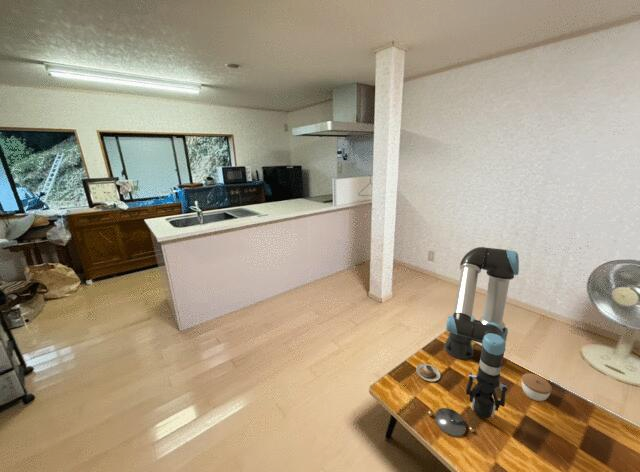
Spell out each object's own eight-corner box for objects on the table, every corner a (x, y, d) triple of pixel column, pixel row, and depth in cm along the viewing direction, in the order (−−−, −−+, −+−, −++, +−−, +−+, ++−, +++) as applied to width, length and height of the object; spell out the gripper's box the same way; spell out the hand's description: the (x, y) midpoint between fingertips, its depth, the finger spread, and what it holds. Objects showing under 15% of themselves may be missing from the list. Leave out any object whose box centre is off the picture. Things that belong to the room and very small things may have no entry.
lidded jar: (525, 402, 119) (528, 386, 116) (515, 383, 129) (518, 368, 126) (553, 408, 116) (557, 391, 113) (541, 388, 125) (545, 372, 123)
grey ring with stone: (412, 373, 138) (412, 366, 136) (422, 361, 145) (423, 355, 144) (434, 387, 129) (434, 379, 128) (444, 373, 137) (445, 366, 136)
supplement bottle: (493, 420, 110) (498, 398, 107) (476, 417, 112) (479, 396, 108) (487, 405, 117) (491, 385, 113) (470, 403, 118) (474, 383, 114)
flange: (429, 403, 120) (429, 400, 120) (473, 419, 112) (474, 417, 112) (426, 425, 110) (426, 422, 110) (474, 445, 102) (475, 442, 102)
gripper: (462, 367, 109) (456, 408, 115) (520, 384, 99) (510, 428, 106) (462, 355, 115) (457, 395, 122) (517, 370, 106) (508, 412, 112)
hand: (482, 410), depth 114 cm, fingers closed on supplement bottle, 7 cm apart
